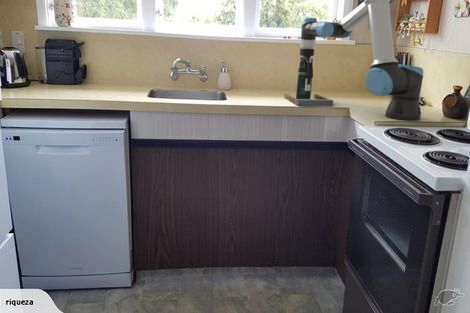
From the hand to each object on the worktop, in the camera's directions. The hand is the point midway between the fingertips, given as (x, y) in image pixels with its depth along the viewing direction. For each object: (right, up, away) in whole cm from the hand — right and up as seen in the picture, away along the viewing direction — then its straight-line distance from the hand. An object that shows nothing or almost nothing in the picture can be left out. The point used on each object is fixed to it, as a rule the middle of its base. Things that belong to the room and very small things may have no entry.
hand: (304, 89), depth 232 cm
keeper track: (+1, -7, -4) cm, 8 cm away
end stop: (+3, -11, -16) cm, 20 cm away
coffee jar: (0, -6, +2) cm, 6 cm away
